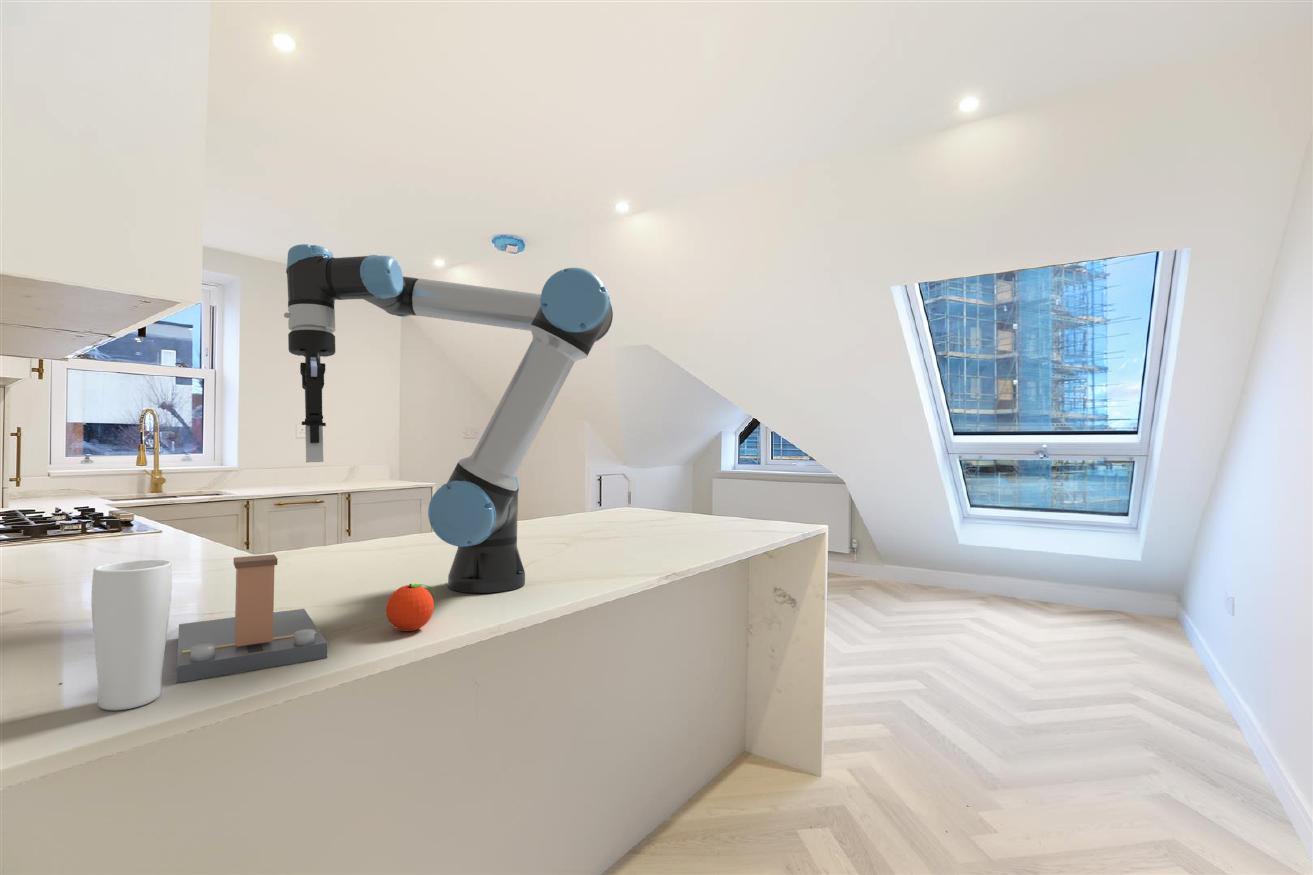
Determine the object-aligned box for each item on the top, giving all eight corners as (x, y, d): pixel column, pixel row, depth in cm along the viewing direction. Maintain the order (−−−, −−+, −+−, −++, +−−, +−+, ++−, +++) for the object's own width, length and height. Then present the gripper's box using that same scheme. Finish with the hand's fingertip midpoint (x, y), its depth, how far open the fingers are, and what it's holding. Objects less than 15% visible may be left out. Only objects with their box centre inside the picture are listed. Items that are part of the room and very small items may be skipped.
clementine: (420, 619, 103) (421, 576, 103) (448, 627, 99) (449, 581, 99) (375, 631, 96) (376, 584, 96) (404, 640, 93) (405, 591, 93)
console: (303, 621, 101) (304, 599, 101) (327, 657, 84) (327, 631, 84) (178, 637, 92) (179, 613, 92) (176, 683, 75) (177, 653, 75)
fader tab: (272, 633, 86) (274, 554, 86) (275, 641, 83) (277, 558, 83) (231, 639, 84) (233, 557, 84) (233, 647, 80) (235, 562, 81)
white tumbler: (76, 707, 68) (80, 566, 68) (150, 686, 74) (153, 557, 74) (106, 720, 65) (110, 573, 65) (181, 697, 71) (184, 563, 71)
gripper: (288, 338, 119) (290, 464, 118) (288, 322, 108) (290, 461, 106) (333, 341, 123) (335, 462, 121) (337, 325, 111) (340, 459, 110)
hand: (314, 461), depth 114 cm, fingers closed
